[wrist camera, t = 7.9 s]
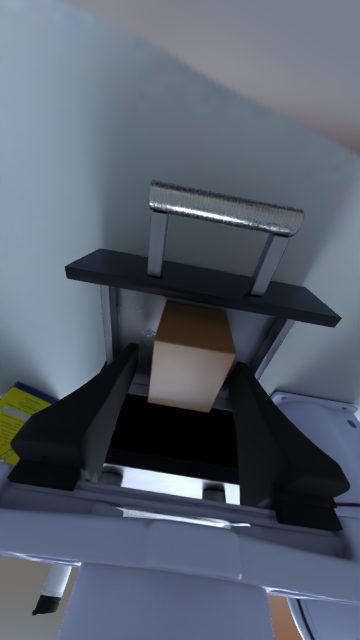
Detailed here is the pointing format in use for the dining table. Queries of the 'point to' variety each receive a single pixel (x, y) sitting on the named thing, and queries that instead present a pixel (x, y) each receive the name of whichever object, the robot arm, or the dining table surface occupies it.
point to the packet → (190, 357)
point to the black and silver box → (173, 453)
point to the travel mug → (53, 589)
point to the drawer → (201, 284)
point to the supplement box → (18, 415)
